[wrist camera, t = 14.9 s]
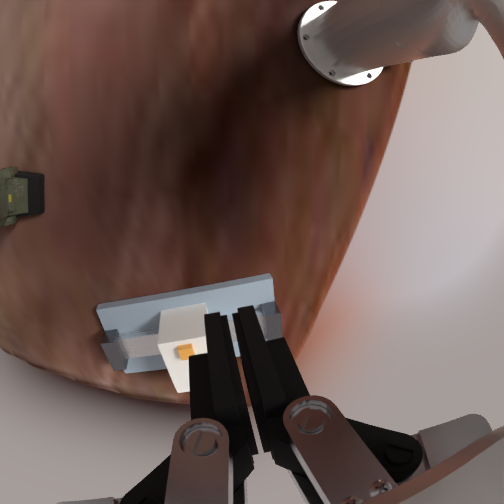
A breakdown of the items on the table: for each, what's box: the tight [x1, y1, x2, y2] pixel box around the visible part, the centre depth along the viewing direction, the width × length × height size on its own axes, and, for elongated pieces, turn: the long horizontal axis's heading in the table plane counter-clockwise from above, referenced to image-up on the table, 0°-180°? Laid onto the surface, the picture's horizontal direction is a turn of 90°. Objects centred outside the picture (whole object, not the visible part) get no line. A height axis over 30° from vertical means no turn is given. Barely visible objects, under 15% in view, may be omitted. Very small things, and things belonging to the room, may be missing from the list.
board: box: [96, 273, 274, 374], centre depth 40 cm, size 24×12×2 cm, turn 97°
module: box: [157, 303, 208, 393], centre depth 36 cm, size 6×8×8 cm
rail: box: [100, 301, 282, 371], centre depth 38 cm, size 24×5×3 cm, turn 97°
